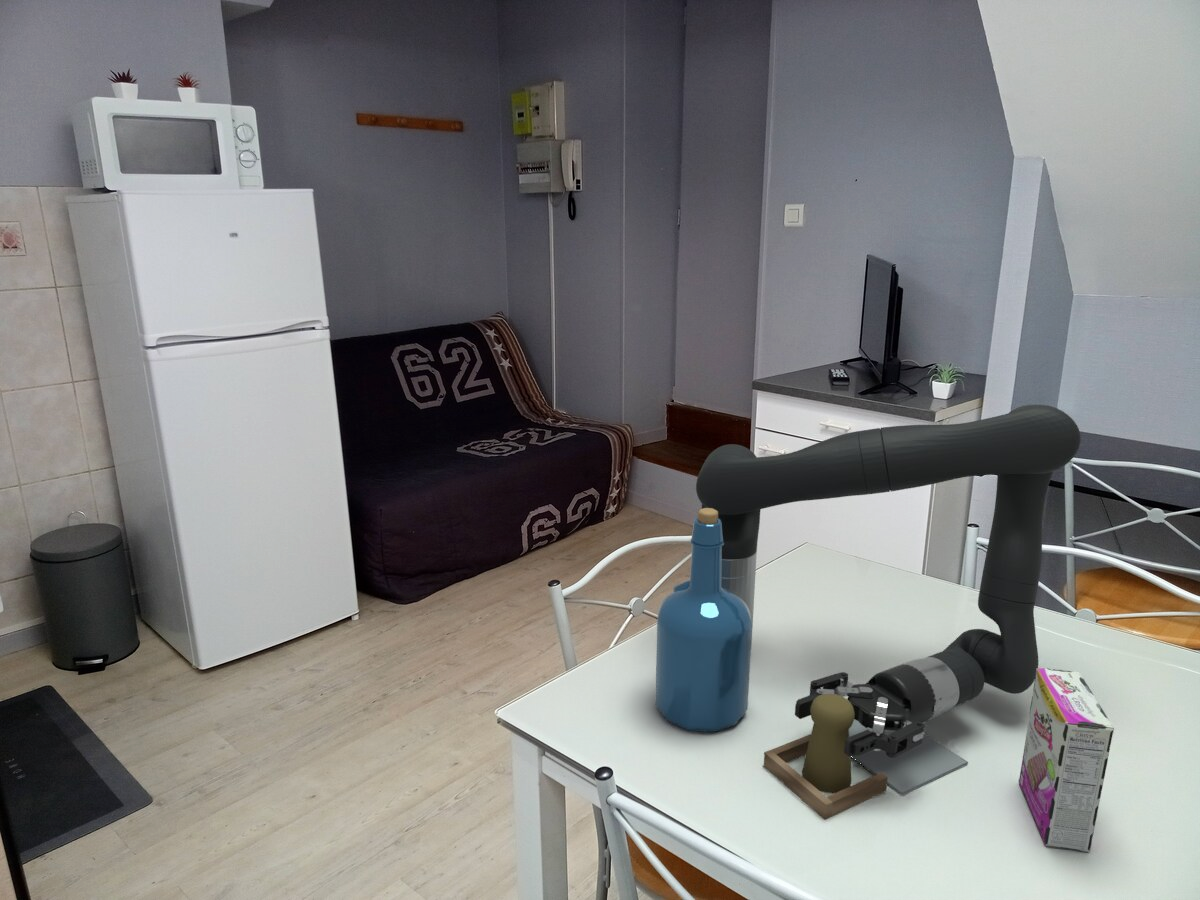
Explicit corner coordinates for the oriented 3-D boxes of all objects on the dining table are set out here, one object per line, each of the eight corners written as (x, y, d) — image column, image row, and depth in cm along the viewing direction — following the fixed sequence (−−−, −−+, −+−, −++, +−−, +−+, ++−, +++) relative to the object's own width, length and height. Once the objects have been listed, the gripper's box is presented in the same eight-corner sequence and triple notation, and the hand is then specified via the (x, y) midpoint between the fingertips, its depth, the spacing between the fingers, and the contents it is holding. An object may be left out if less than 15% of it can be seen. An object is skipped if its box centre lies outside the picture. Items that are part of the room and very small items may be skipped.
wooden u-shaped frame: (763, 765, 105) (764, 752, 105) (822, 741, 110) (823, 728, 109) (824, 819, 96) (826, 805, 96) (886, 791, 101) (887, 777, 100)
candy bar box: (1014, 782, 102) (1034, 665, 98) (1058, 787, 101) (1080, 670, 97) (1042, 848, 92) (1066, 721, 87) (1091, 855, 91) (1118, 727, 86)
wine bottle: (761, 731, 112) (774, 525, 104) (666, 741, 110) (671, 532, 102) (729, 676, 125) (739, 490, 117) (644, 684, 123) (647, 495, 115)
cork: (812, 755, 107) (819, 681, 104) (858, 773, 104) (866, 697, 101) (794, 780, 103) (800, 703, 99) (841, 800, 99) (849, 721, 96)
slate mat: (819, 733, 112) (820, 731, 112) (883, 708, 117) (883, 705, 117) (901, 795, 100) (901, 792, 100) (967, 764, 106) (968, 761, 105)
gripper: (874, 642, 113) (783, 674, 105) (963, 694, 101) (868, 734, 93) (869, 690, 115) (779, 724, 107) (956, 746, 103) (862, 789, 95)
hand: (821, 729), depth 100 cm, fingers open, 8 cm apart
